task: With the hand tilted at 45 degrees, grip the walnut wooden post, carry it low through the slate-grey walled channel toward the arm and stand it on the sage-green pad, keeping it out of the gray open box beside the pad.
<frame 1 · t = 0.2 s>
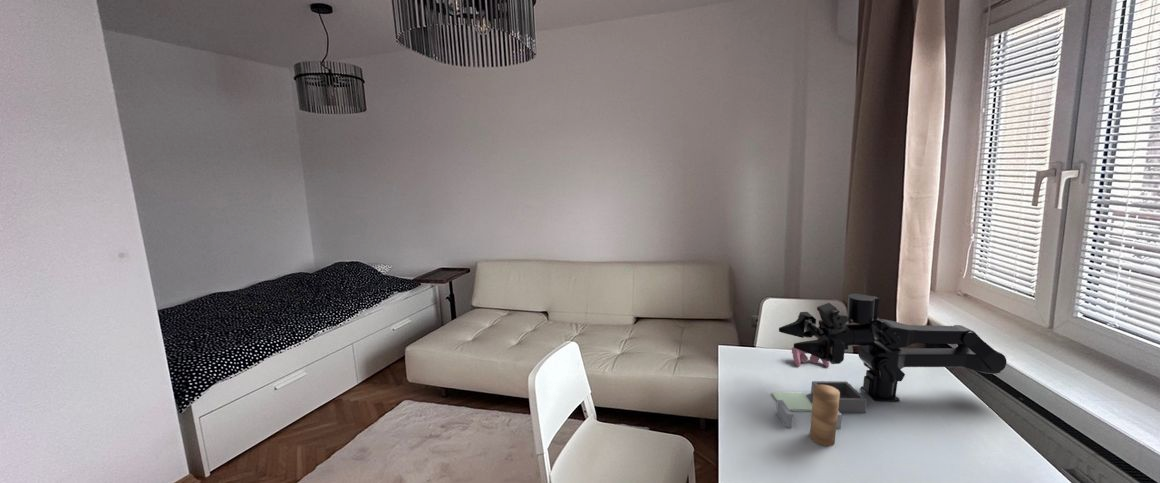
hand: (786, 337, 114), 16 cm above the table, tool horizontal, fingers open, 9 cm apart
walnut post: (821, 439, 98), on the table
gray open box: (837, 402, 112), on the table
channel: (807, 420, 105), on the table
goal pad: (793, 402, 113), on the table
video game controller: (809, 364, 134), on the table
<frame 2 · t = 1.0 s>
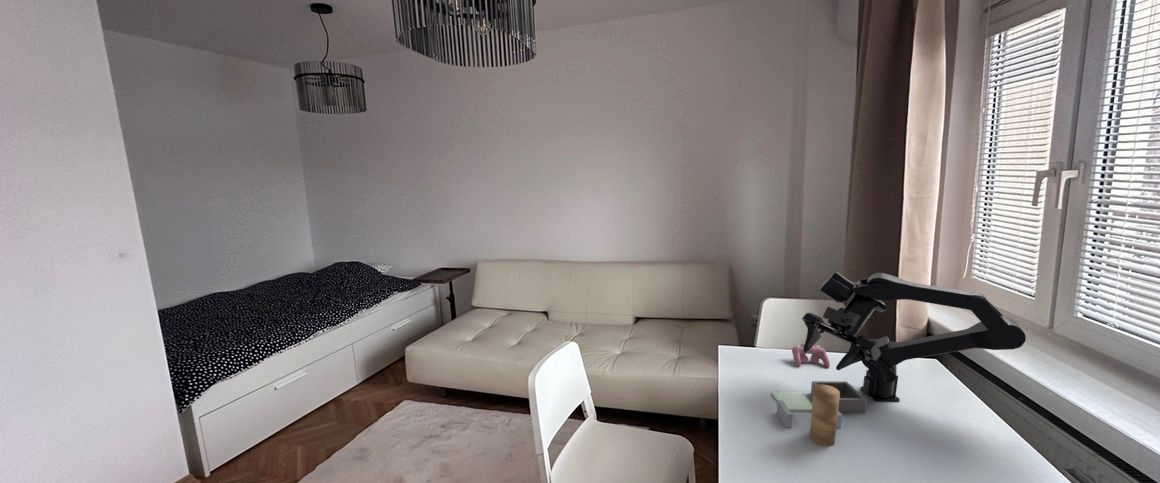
hand: (820, 360, 112), 11 cm above the table, tool tilted 45°, fingers open, 9 cm apart
nothing on the table moved.
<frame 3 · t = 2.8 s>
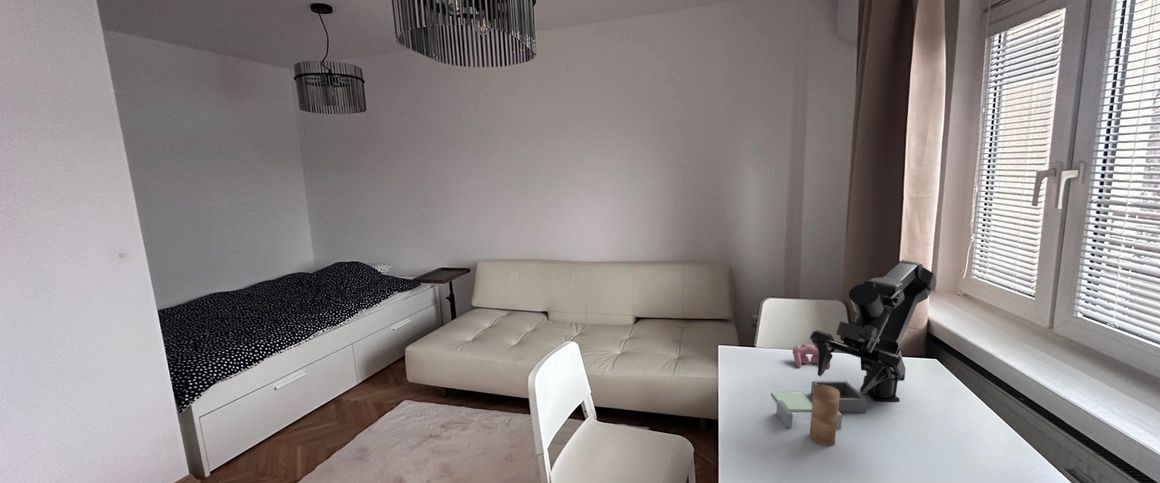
hand: (839, 383, 99), 12 cm above the table, tool tilted 45°, fingers open, 9 cm apart
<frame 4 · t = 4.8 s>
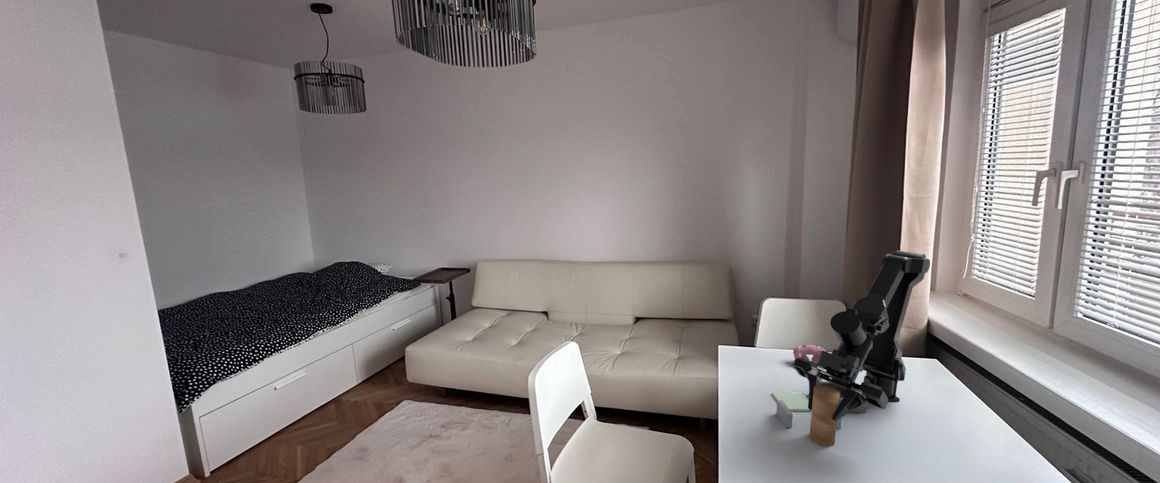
hand: (821, 414, 96), 7 cm above the table, tool tilted 45°, fingers closed on walnut post, 5 cm apart
walnut post: (821, 439, 98), on the table, touching gripper
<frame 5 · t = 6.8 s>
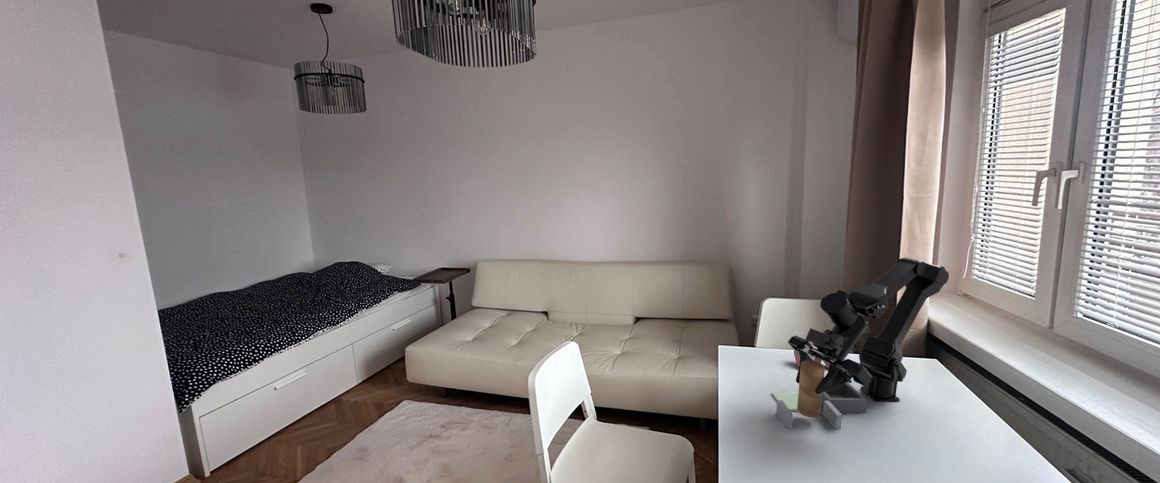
hand: (806, 387, 103), 9 cm above the table, tool tilted 45°, fingers closed on walnut post, 5 cm apart
walnut post: (808, 411, 105), point 2 cm above the table, touching gripper
when the fingers open (8 cm above the table, at t = 9.0 s): walnut post stays where it is, resting on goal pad.
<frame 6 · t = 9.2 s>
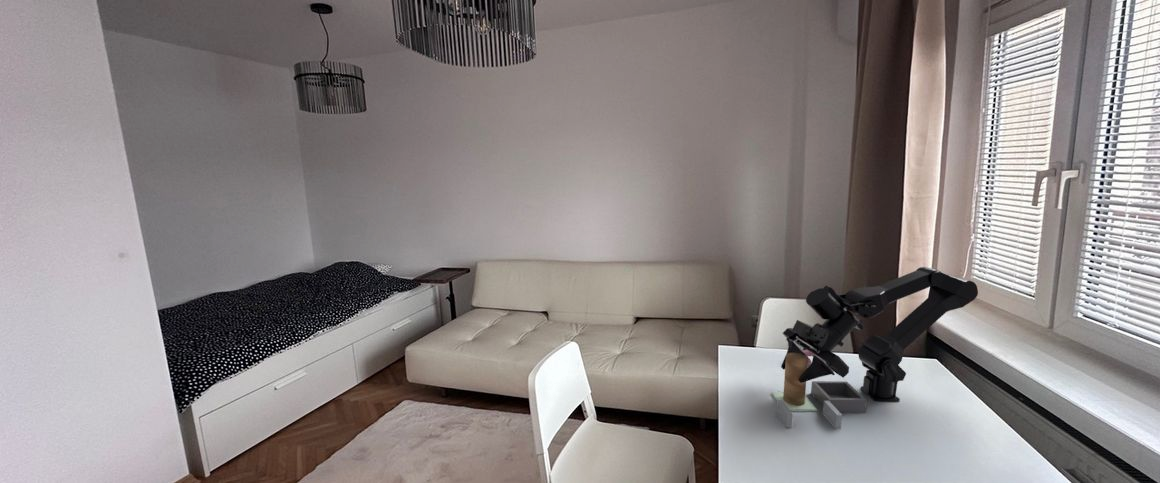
hand: (790, 374, 111), 8 cm above the table, tool tilted 45°, fingers open, 7 cm apart
walnut post: (793, 400, 113), point 1 cm above the table, touching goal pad
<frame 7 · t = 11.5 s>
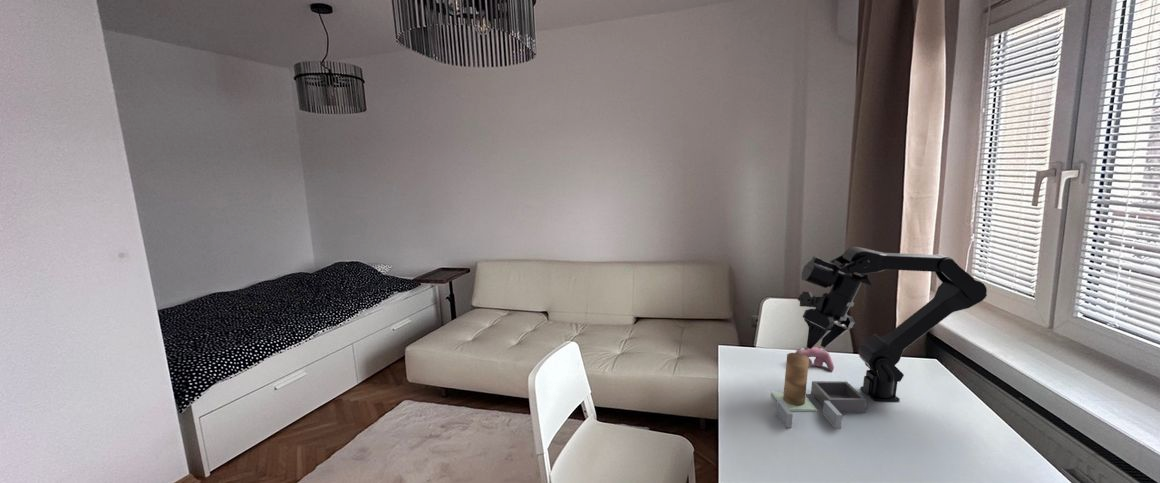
hand: (815, 347, 115), 13 cm above the table, tool tilted 20°, fingers open, 9 cm apart
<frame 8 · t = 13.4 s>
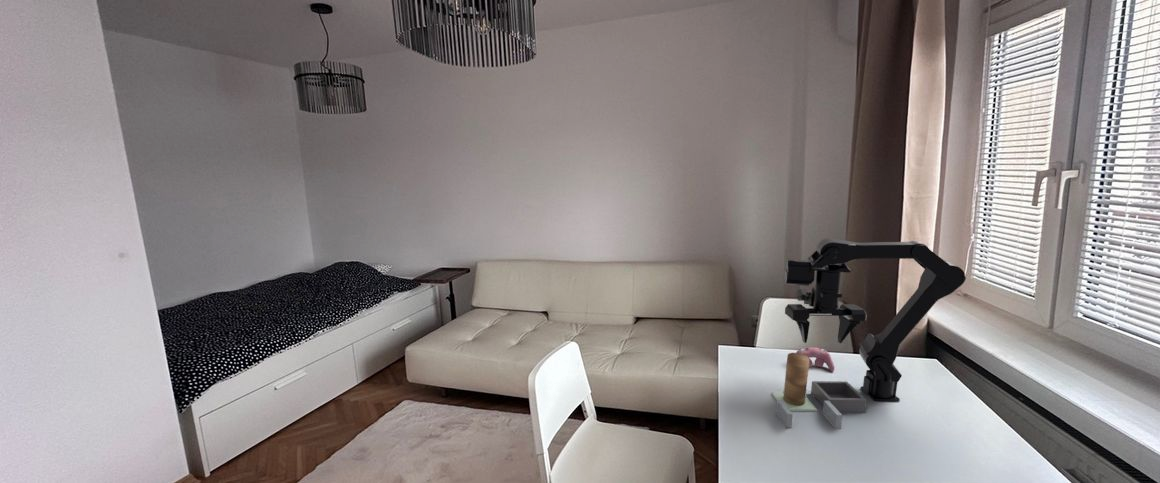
hand: (822, 342, 118), 13 cm above the table, tool pointing down, fingers open, 9 cm apart
at the end: walnut post inside the target area on the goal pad (0.1 cm from its centre), point 0.6 cm above the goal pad's base; walnut post tilted 1°; the gripper is holding nothing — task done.
